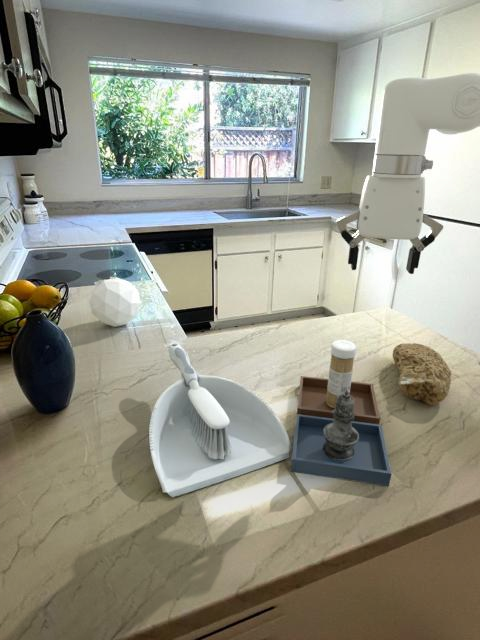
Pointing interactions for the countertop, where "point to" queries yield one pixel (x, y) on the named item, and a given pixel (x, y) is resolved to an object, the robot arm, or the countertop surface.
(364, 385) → the tray walnut
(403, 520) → the countertop surface
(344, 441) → the grey stone figurine
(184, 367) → the dustpan and brush
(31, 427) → the countertop surface
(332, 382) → the sprinkles bottle
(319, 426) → the tray blue
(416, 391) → the sponge
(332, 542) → the countertop surface
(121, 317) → the geodesic sphere
